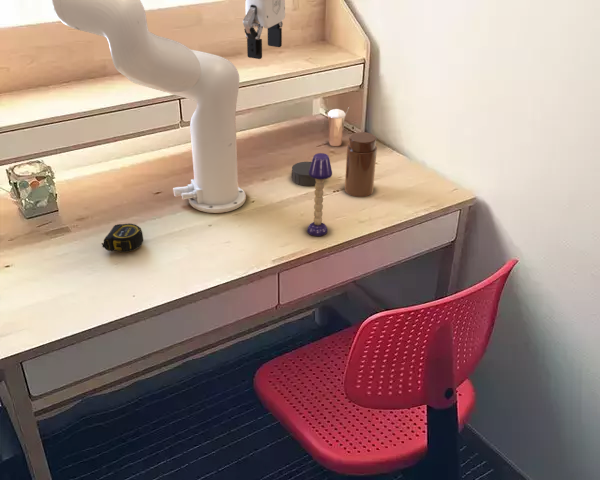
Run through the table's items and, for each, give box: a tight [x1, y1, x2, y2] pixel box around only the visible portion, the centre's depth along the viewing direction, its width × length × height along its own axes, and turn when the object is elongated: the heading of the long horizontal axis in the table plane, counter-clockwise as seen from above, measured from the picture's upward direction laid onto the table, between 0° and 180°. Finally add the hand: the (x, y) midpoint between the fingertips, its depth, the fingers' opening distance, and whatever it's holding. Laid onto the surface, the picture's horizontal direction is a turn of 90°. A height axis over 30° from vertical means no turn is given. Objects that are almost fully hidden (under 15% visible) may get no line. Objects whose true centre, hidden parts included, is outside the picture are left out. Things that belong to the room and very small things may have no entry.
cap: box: [291, 161, 316, 187], centre depth 160 cm, size 8×8×3 cm
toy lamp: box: [306, 152, 333, 237], centre depth 136 cm, size 5×5×17 cm
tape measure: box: [101, 223, 144, 253], centre depth 134 cm, size 7×7×4 cm
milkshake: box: [327, 107, 350, 147], centre depth 175 cm, size 4×5×10 cm
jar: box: [344, 131, 378, 198], centre depth 153 cm, size 7×7×13 cm
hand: (265, 51), depth 147 cm, fingers open, 9 cm apart
